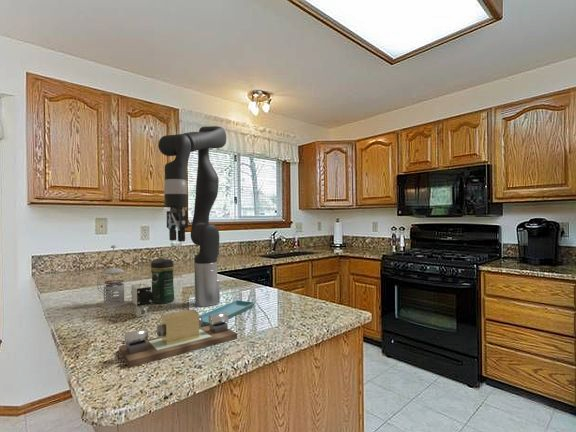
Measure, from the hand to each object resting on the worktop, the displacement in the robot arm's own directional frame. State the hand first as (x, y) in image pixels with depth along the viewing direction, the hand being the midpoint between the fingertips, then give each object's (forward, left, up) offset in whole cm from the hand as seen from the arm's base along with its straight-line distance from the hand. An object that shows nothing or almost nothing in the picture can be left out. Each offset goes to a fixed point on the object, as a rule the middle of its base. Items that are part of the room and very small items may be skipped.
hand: (177, 240), depth 111 cm
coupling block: (+6, +20, -26) cm, 34 cm away
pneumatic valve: (+7, -18, -28) cm, 34 cm away
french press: (+13, -44, -28) cm, 54 cm away
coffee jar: (-5, -34, -28) cm, 45 cm away
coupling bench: (+6, +20, -28) cm, 35 cm away
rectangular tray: (-17, +2, -29) cm, 33 cm away
